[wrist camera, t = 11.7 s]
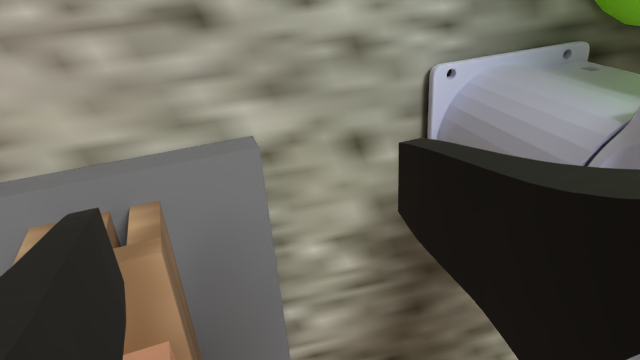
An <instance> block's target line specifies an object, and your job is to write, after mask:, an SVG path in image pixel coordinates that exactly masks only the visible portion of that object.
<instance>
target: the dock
mask: <svg viewBox="0 0 640 360" xmlns="http://www.w3.org/2000/svg"><path fill="white" fill-rule="evenodd" d="M156 201H160V204H161V208H162V212H163V216H164V219H165V223H166V227H167V230H168V234H169V238H170V241H171V245H172V249H173V253H174V256H175V260H176V264H177V267H178V271H179V275H180V279H181V282H182V286H183V290H184V293H185V297H186V301H187V304H188V308H189V312H190V316H191V319H192V323H193V327H194V330H195V334H196V338H197V341H198V345H199V349H200V353H201V356H202V360H290V355H289V348H288V342H287V335H286V328H285V321H284V314H283V307H282V300H281V294H280V287H279V280H278V273H277V266H276V259H275V253H274V246H273V239H272V232H271V225H270V218H269V211H268V205H267V198H266V191H265V184H264V177H263V170H262V163H261V157H260V150H259V146H258V145H257V143H256V141H255V139H254V138H253V136H250V137H244V138H239V139H234V140H228V141H223V142H218V143H212V144H207V145H202V146H196V147H191V148H186V149H180V150H175V151H169V152H164V153H159V154H153V155H148V156H143V157H137V158H132V159H127V160H121V161H116V162H110V163H105V164H100V165H94V166H89V167H84V168H78V169H73V170H68V171H62V172H57V173H51V174H46V175H41V176H35V177H30V178H25V179H19V180H14V181H9V182H3V183H0V276H2V275H3V274H4V273H5V272H6V271H7V270H8V269H10V268H11V267H12V266H13V263H14V261H15V259H16V257H17V255H18V252H19V250H20V248H21V246H22V243H23V241H24V239H25V237H26V234H27V232H28V230H29V228H33V227H38V226H42V225H47V224H52V223H56V222H59V221H60V220H61V219H62V218H63V217H65V216H66V215H67V214H70V213H75V212H79V211H84V210H89V209H93V208H98V207H99V210H100V213H104V212H108V211H110V214H111V218H112V221H113V224H114V227H115V230H116V233H117V236H118V239H119V242H120V245H121V247H122V246H127V235H128V222H129V210H130V207H132V206H137V205H141V204H146V203H151V202H156Z"/></svg>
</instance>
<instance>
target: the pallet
mask: <svg viewBox="0 0 640 360" xmlns="http://www.w3.org/2000/svg"><path fill="white" fill-rule="evenodd" d="M101 216H102V219H103V222H104V224H105V227H106V230H107V233H108V236H109V239H110V242H111V245H112V248H113V251H114V254H115V256H116V259H117V262H118V265H119V268H120V271H121V274H122V277H123V280H124V285H125V301H126V331H125V342H124V352H123V355H126V354H129V353H132V352H135V351H138V350H142V349H145V348H148V347H151V346H155V345H158V344H161V343H164V342H168V341H169V342H170V345H171V348H172V351H173V353H174V356H175V359H176V360H202V356H201V353H200V349H199V345H198V341H197V338H196V334H195V330H194V327H193V323H192V319H191V316H190V312H189V308H188V304H187V301H186V297H185V293H184V290H183V286H182V282H181V279H180V275H179V271H178V267H177V264H176V260H175V256H174V253H173V249H172V245H171V241H170V238H169V234H168V230H167V227H166V223H165V219H164V216H163V212H162V208H161V204H160V201H156V202H151V203H146V204H141V205H137V206H132V207H130V210H129V222H128V235H127V246H122V247H121V245H120V242H119V239H118V236H117V233H116V230H115V227H114V224H113V221H112V218H111V214H110V211H108V212H104V213H101ZM57 223H58V222H56V223H52V224H47V225H42V226H38V227H33V228H29V230H28V232H27V234H26V237H25V239H24V241H23V243H22V246H21V248H20V250H19V252H18V255H17V257H16V259H15V261H14V263H13V265H14V264H15V263H16V262H17V261H18V260H19V259H20V258H21V257H22V256H23V255H25V254H26V253H27V252H28V251H29V250H30V249H31V248H32V247H33V246H34V245H35V244H36V243H37V242H38V241H39V240H40V239H41V238H42V237H43V236H44V235H45V234H46V233H47V232H48V231H49V230H50V229H51V228H52V227H53V226H54V225H55V224H57Z"/></svg>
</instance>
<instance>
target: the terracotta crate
mask: <svg viewBox="0 0 640 360" xmlns="http://www.w3.org/2000/svg"><path fill="white" fill-rule="evenodd" d="M123 360H176V359H175V356H174V353H173V351H172V348H171V345H170V342H169V341H168V342H164V343H161V344H158V345H155V346H151V347H148V348H145V349H142V350H138V351H135V352H132V353H129V354H126V355H123Z"/></svg>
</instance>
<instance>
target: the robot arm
mask: <svg viewBox="0 0 640 360" xmlns="http://www.w3.org/2000/svg"><path fill="white" fill-rule="evenodd" d="M589 49H590V46H589V44H588V43H587V42H583V41H576V42H570V43H564V44H558V45H552V46H546V47H539V48H533V49H527V50H521V51H515V52H509V53H503V54H497V55H490V56H484V57H478V58H472V59H466V60H460V61H454V62H448V63H442V64H437V65H435V66H434V67H433V68H432V70H431V71H430V77H429V105H428V133H427V139H424V138H419V139H414V140H410V141H405V142H400V143H399V187H398V212H399V213H400V215H401V216H402V218H403V219H404V221H405V222H406V224H407V226H408V227H409V229H410V230H411V231H412V233H413V234H414V236H415V237H416V238H417V240H418V241H419V242H420V243H421V244H422V245H423V246H424V248H425V249H426V250H427V251H428V252H429V253H430V254H431V255H432V256H433V257H434V258H435V259H436V261H437V262H438V263H439V264H440V265H441V266H442V267H443V268H444V269H445V270H446V271H447V272H448V273H449V274H450V275H451V276H452V277H453V279H454V280H455V281H456V282H457V283H458V284H459V285H460V286H461V287H462V288H463V289H464V290H465V291H466V292H467V293H468V294H469V296H470V297H471V298H472V299H473V300H474V301H475V302H476V304H477V305H478V306H479V307H480V308H481V309H482V310H483V312H484V313H485V314H486V316H487V317H488V318H489V320H490V321H491V322H492V324H493V325H494V326H495V328H496V329H497V330H498V332H499V333H500V334H501V336H502V337H503V338H504V340H505V341H506V342H507V344H508V345H509V347H510V348H511V349H512V351H513V352H514V354H515V355H516V357H517V358H518V359H519V360H640V74H638V73H634V72H630V71H625V70H621V69H617V68H613V67H609V66H604V65H600V64H596V63H592V62H588V55H589ZM565 51H566V53H565V55H564V56H563V54H564V52H565ZM450 69H451V71H452V72H451V75H450V76H449V77H447V72H448V71H449V70H450ZM125 331H126V301H125V285H124V280H123V277H122V274H121V271H120V268H119V265H118V262H117V259H116V256H115V254H114V251H113V248H112V245H111V242H110V239H109V236H108V233H107V230H106V227H105V224H104V222H103V219H102V216H101V213H100V210H99V207H98V208H93V209H89V210H84V211H79V212H75V213H70V214H67V215H66V216H65V217H63V218H62V219H61V220H60V221H59V222H58V223H57V224H55V225H54V226H53V227H52V228H51V229H50V230H49V231H48V232H47V233H46V234H45V235H44V236H43V237H42V238H41V239H40V240H39V241H38V242H37V243H36V244H35V245H34V246H33V247H32V248H31V249H30V250H29V251H28V252H27V253H26V254H25V255H23V256H22V257H21V258H20V259H19V260H18V261H17V262H16V263H15V264H14V265H13V266H12V267H11V268H10V269H8V270H7V271H6V272H5V273H4V274H3V275H2V276H0V360H123V352H124V342H125Z"/></svg>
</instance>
